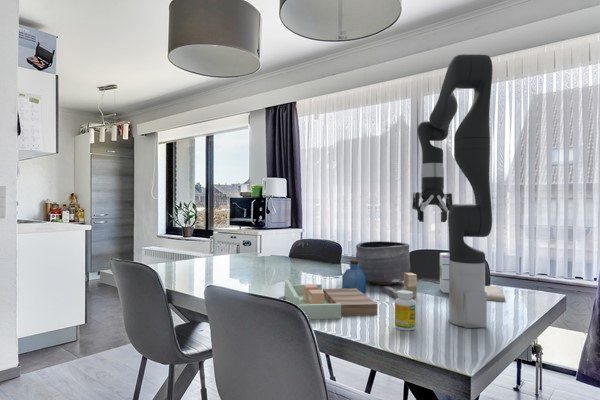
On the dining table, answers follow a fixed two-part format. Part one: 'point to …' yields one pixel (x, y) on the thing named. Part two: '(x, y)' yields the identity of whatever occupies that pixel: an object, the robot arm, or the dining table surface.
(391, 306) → the dining table surface
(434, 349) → the dining table surface
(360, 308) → the block
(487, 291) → the washcloth
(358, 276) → the perfume bottle
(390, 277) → the tea bowl
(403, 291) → the supplement bottle
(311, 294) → the peach block
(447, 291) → the syrup box
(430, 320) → the dining table surface
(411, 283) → the scraper
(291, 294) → the tray
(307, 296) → the tile
